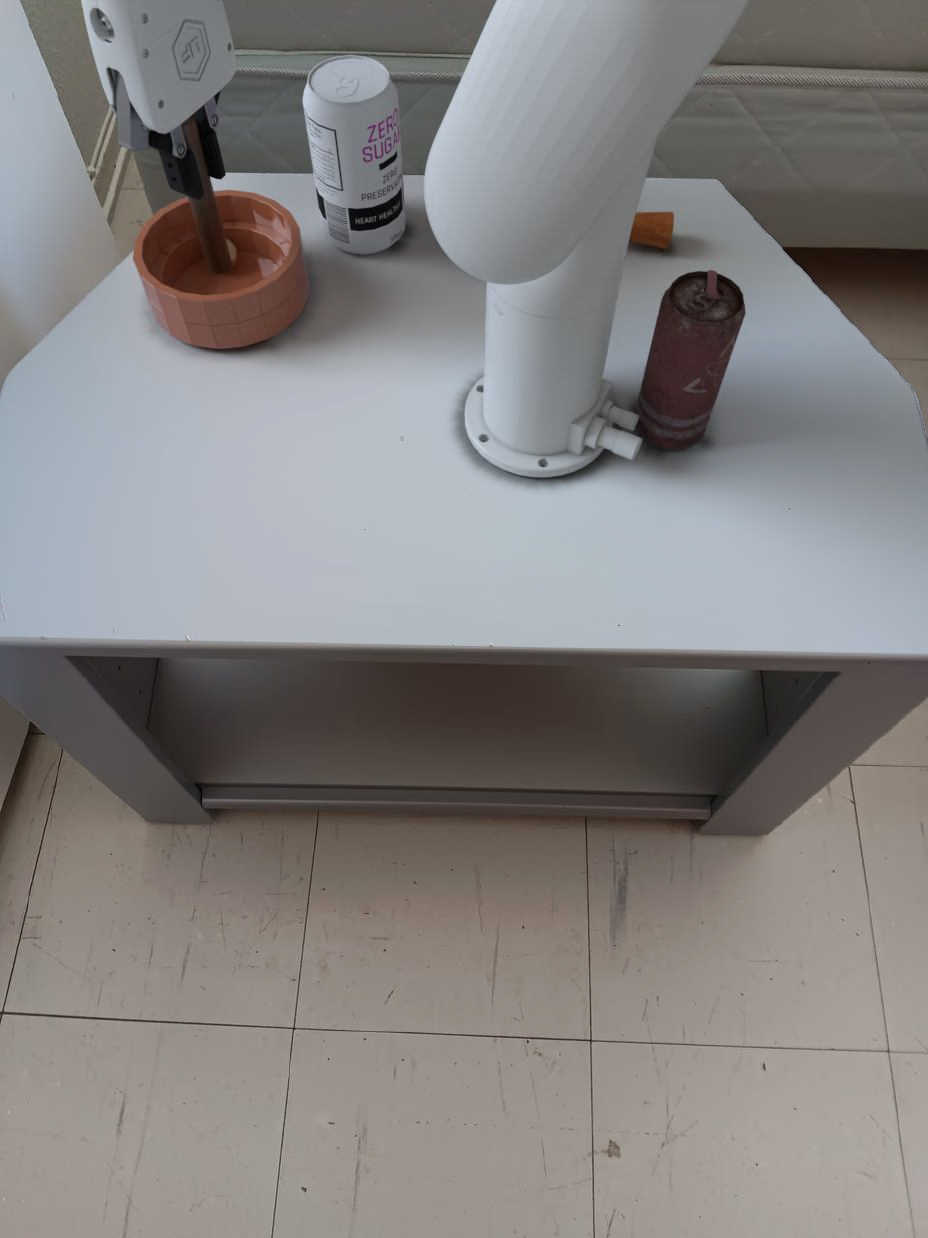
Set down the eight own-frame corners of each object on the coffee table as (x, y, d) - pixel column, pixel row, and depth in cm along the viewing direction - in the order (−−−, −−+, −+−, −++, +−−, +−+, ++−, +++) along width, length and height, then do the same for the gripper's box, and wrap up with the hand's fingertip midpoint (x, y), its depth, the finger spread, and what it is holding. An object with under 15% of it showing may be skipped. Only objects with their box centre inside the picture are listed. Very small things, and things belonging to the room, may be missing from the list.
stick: (237, 263, 83) (200, 113, 71) (223, 277, 82) (182, 128, 70) (217, 255, 84) (177, 105, 72) (203, 269, 83) (159, 120, 71)
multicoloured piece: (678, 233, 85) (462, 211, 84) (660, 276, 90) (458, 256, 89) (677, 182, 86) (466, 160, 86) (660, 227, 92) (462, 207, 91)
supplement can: (333, 199, 93) (313, 46, 80) (413, 209, 92) (405, 56, 79) (313, 252, 89) (288, 100, 76) (396, 262, 88) (385, 111, 75)
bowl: (339, 275, 88) (331, 221, 82) (251, 374, 81) (236, 322, 76) (214, 227, 91) (199, 171, 86) (120, 319, 85) (98, 265, 79)
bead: (246, 262, 88) (240, 236, 85) (228, 281, 86) (220, 255, 84) (221, 252, 88) (213, 225, 86) (202, 271, 87) (194, 244, 84)
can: (703, 399, 80) (746, 266, 68) (705, 456, 77) (751, 327, 64) (633, 394, 80) (663, 261, 68) (632, 450, 77) (664, 321, 65)
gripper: (95, 0, 55) (175, 255, 72) (248, -110, 62) (290, 144, 78) (0, -32, 57) (99, 224, 73) (159, -136, 64) (218, 118, 80)
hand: (197, 181), depth 76 cm, fingers closed on stick, 2 cm apart
